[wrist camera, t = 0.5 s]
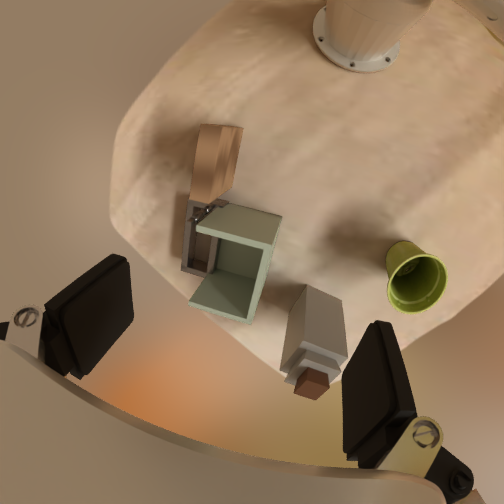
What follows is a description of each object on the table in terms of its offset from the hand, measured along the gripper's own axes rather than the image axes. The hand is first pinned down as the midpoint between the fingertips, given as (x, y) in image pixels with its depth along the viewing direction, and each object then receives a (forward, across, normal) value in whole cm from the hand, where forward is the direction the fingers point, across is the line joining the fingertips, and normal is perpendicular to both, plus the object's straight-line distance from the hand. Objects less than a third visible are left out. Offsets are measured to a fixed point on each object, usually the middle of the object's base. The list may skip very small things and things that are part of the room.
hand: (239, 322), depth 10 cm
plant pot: (+31, -20, +7) cm, 38 cm away
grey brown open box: (+31, +12, +11) cm, 35 cm away
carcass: (+31, +5, +11) cm, 34 cm away
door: (+31, +10, -2) cm, 33 cm away
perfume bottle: (+32, -9, +20) cm, 38 cm away
